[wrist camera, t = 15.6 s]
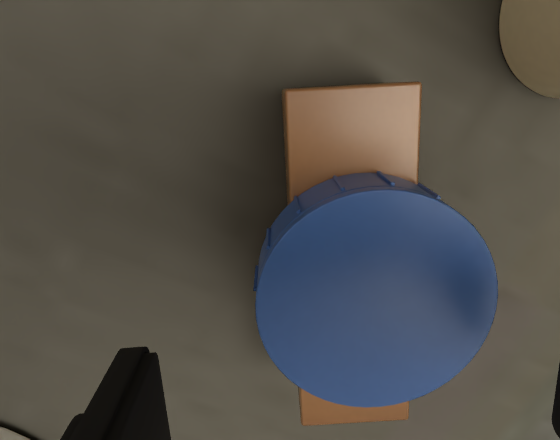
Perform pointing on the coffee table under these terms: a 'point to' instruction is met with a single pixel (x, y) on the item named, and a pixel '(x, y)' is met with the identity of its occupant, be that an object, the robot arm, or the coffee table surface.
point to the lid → (373, 290)
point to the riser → (349, 172)
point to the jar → (532, 43)
